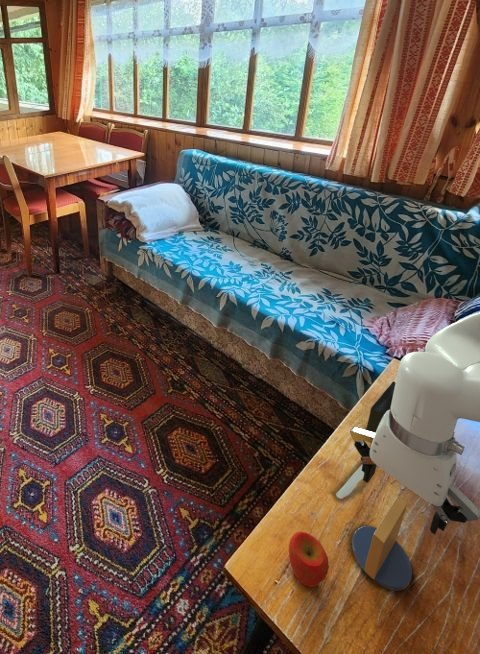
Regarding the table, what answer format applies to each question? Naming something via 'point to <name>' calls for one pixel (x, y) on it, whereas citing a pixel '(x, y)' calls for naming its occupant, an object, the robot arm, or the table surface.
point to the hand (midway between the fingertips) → (400, 500)
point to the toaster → (380, 408)
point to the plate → (393, 569)
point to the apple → (308, 559)
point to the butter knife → (350, 483)
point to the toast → (385, 537)
